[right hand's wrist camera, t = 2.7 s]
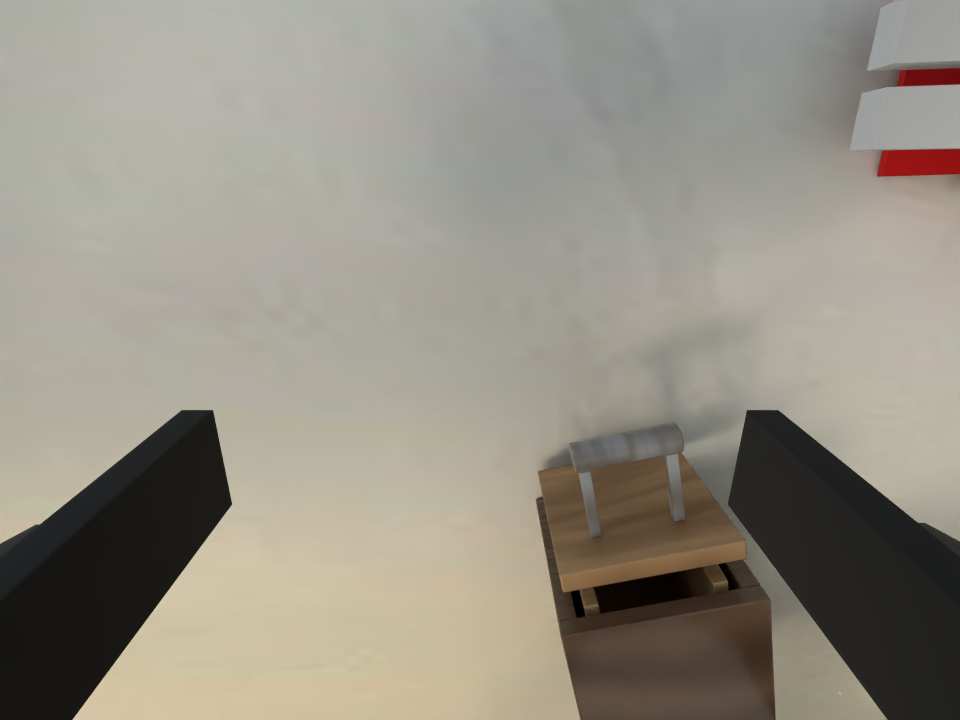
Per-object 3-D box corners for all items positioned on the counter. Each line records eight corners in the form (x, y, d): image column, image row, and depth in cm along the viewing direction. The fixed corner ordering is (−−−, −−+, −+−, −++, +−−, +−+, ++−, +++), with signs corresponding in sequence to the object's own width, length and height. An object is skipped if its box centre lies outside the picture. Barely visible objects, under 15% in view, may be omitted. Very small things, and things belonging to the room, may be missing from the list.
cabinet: (535, 498, 37) (561, 637, 26) (681, 469, 37) (771, 599, 26) (571, 656, 43) (605, 825, 32) (699, 634, 42) (779, 799, 31)
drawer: (520, 395, 33) (537, 480, 24) (666, 364, 33) (740, 440, 24) (572, 627, 41) (601, 761, 31) (692, 606, 40) (758, 736, 31)
